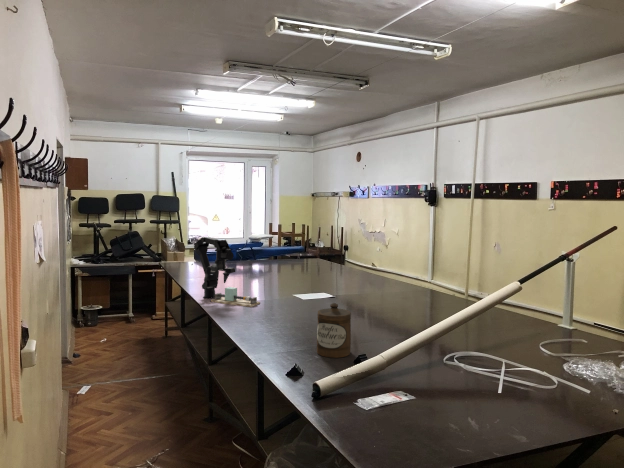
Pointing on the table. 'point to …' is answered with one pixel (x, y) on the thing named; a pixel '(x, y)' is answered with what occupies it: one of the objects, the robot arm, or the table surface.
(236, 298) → the long grey square rod
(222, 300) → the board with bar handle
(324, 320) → the wooden container
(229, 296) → the pale teal block
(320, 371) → the table surface
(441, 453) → the table surface
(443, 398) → the table surface
